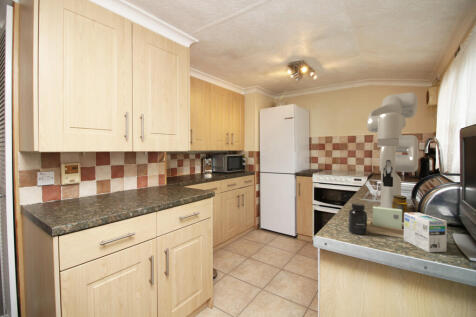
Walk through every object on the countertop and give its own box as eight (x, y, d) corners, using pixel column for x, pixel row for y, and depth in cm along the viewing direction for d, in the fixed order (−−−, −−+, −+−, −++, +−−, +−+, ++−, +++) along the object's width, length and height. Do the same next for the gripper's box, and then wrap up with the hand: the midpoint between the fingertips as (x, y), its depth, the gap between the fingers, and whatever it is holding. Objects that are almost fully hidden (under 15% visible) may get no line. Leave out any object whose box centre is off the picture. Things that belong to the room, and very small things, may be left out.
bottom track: (367, 226, 99) (367, 220, 99) (406, 232, 92) (406, 225, 92) (366, 231, 93) (366, 224, 93) (408, 238, 86) (408, 231, 86)
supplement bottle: (360, 236, 88) (360, 206, 88) (344, 231, 94) (345, 203, 94) (370, 233, 91) (371, 204, 91) (355, 228, 97) (355, 201, 97)
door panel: (372, 226, 96) (372, 206, 96) (400, 231, 91) (401, 209, 91) (372, 229, 94) (372, 207, 93) (401, 233, 88) (402, 211, 88)
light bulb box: (447, 252, 74) (448, 220, 74) (428, 253, 74) (429, 221, 74) (418, 239, 85) (419, 211, 85) (402, 240, 85) (403, 212, 84)
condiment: (410, 221, 107) (411, 196, 106) (403, 224, 102) (403, 198, 101) (393, 217, 113) (393, 194, 112) (385, 220, 108) (386, 196, 108)
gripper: (377, 143, 100) (376, 181, 101) (377, 143, 86) (376, 187, 87) (397, 143, 96) (396, 182, 97) (401, 143, 82) (400, 189, 83)
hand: (387, 184), depth 92 cm, fingers open, 9 cm apart
